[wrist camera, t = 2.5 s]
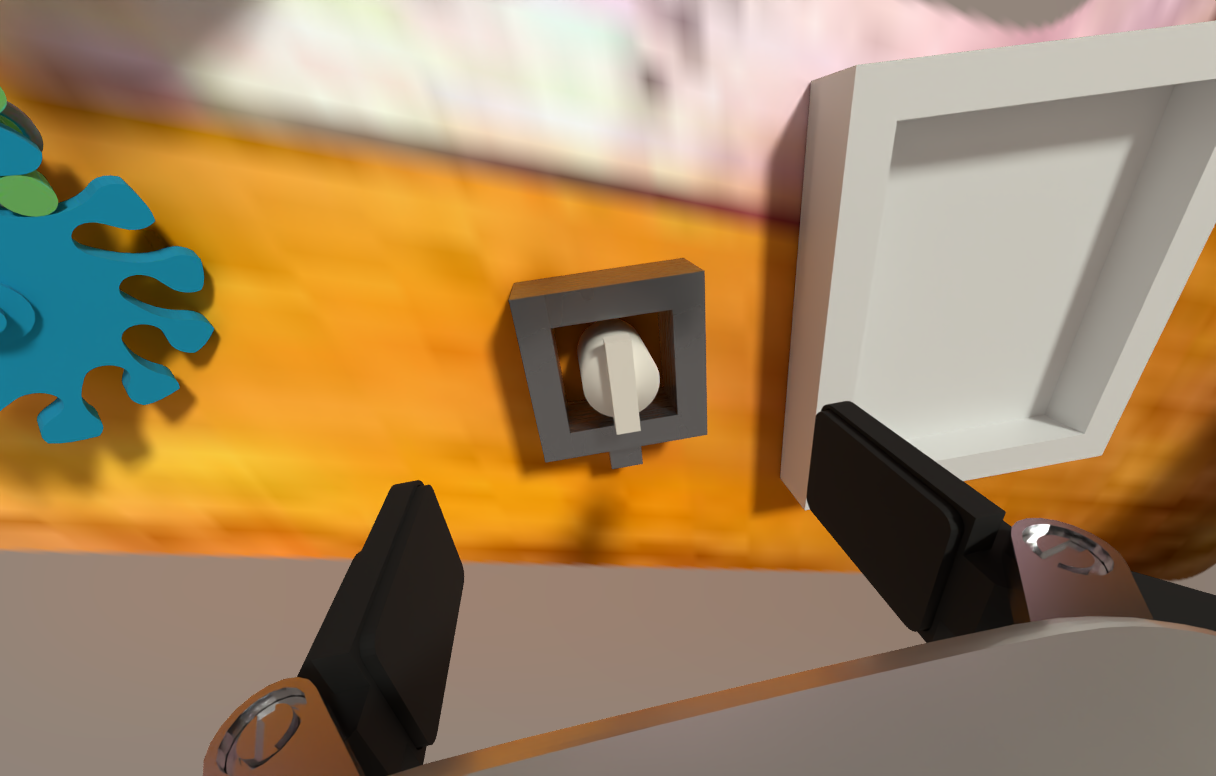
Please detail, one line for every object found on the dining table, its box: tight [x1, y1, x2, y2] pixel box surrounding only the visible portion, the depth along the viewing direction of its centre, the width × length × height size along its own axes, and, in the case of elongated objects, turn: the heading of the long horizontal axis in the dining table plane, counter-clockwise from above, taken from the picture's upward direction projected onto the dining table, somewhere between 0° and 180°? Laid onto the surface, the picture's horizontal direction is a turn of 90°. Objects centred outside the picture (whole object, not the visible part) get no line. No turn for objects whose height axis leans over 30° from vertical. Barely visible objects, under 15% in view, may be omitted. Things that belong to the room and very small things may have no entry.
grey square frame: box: [509, 258, 707, 469], centre depth 18 cm, size 7×8×3 cm
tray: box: [780, 21, 1216, 510], centre depth 18 cm, size 16×18×2 cm
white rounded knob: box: [577, 319, 660, 435], centre depth 17 cm, size 3×4×4 cm
